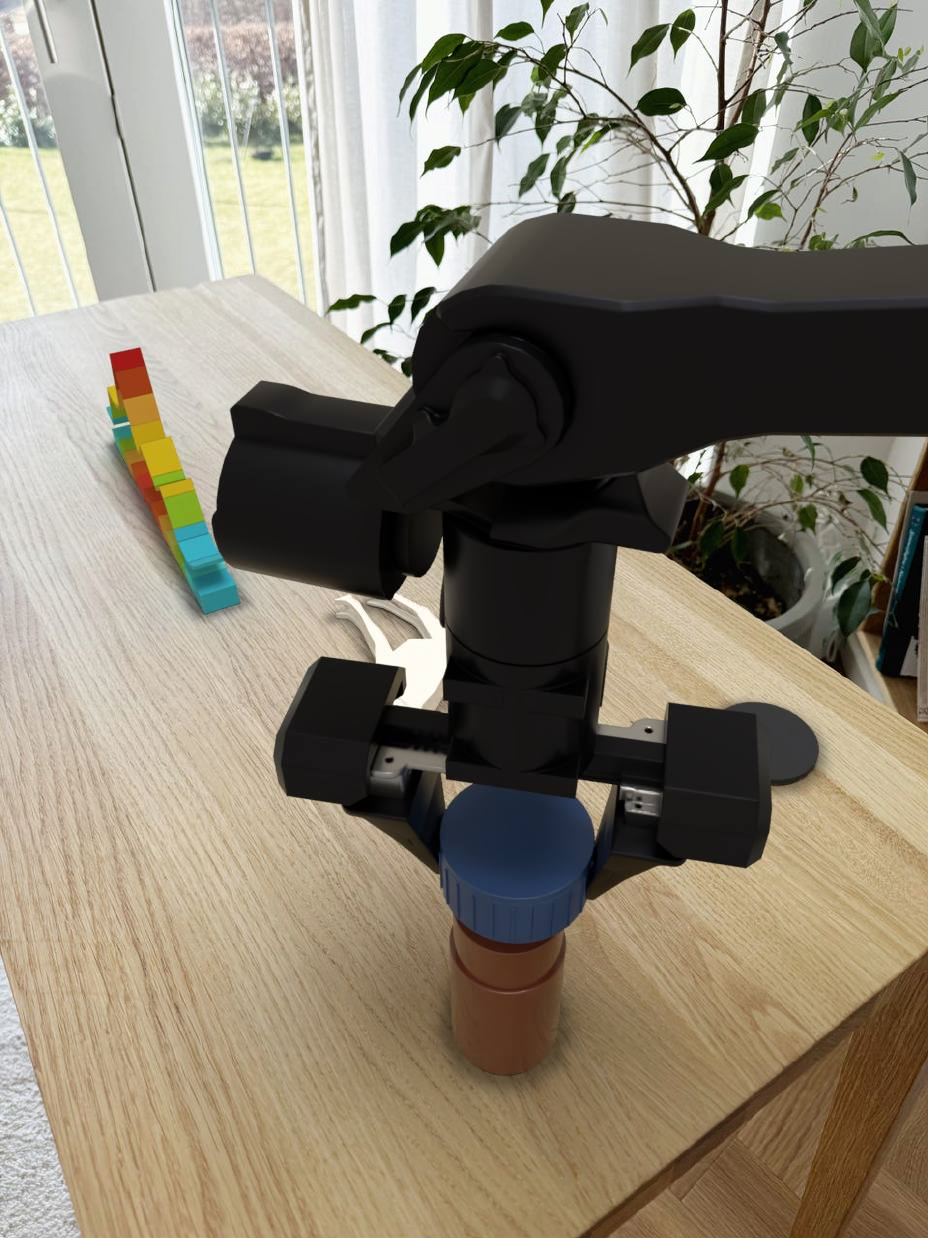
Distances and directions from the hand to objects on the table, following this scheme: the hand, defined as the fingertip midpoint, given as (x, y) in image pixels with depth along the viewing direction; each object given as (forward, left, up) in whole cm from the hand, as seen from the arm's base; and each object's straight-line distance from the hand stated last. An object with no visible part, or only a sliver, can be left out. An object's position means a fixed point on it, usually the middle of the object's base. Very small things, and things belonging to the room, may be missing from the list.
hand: (516, 878), depth 44 cm
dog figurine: (+12, -23, -13) cm, 29 cm away
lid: (0, 0, 0) cm, 0 cm away
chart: (+38, -41, -13) cm, 57 cm away
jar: (0, 0, -12) cm, 13 cm away
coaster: (-14, -23, -12) cm, 29 cm away
